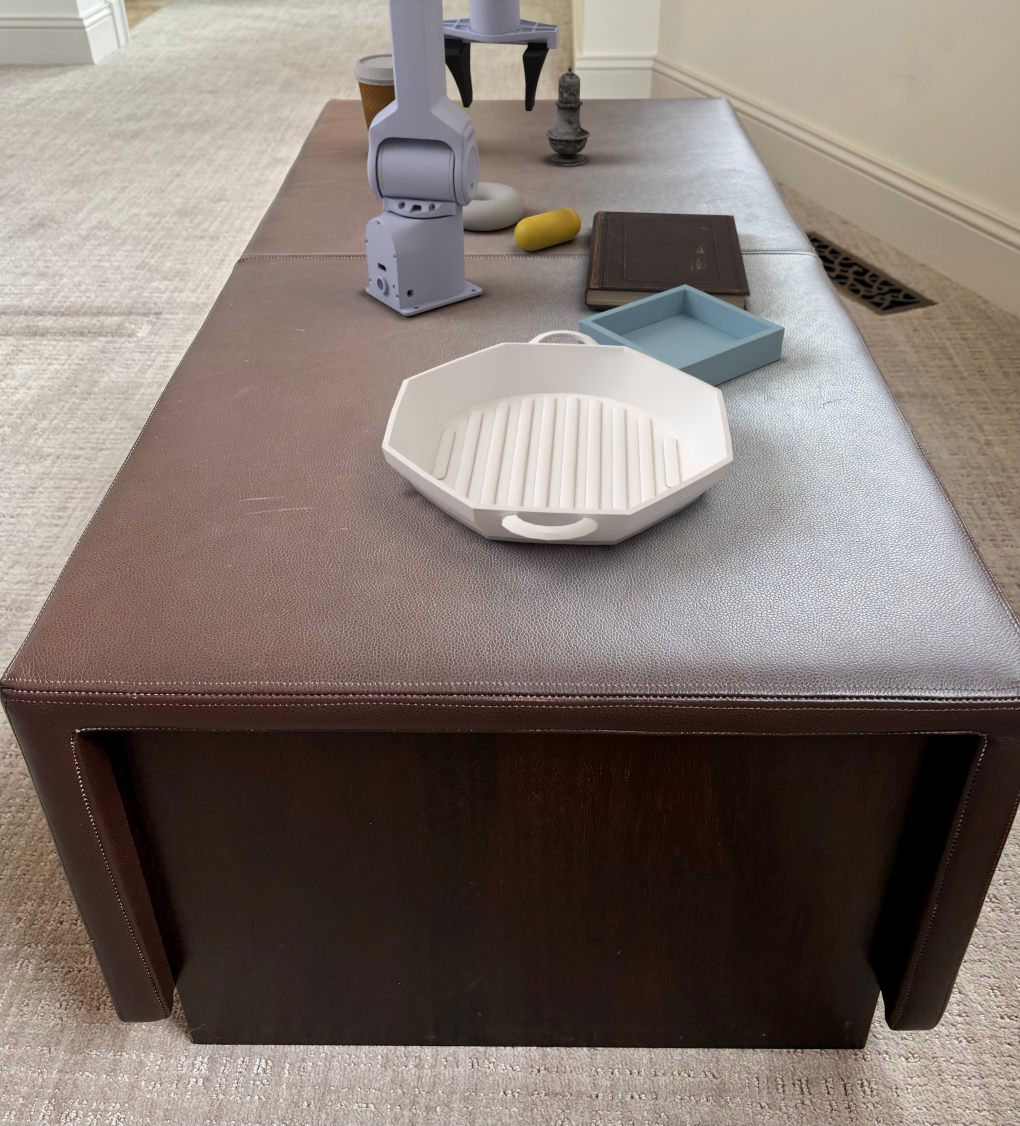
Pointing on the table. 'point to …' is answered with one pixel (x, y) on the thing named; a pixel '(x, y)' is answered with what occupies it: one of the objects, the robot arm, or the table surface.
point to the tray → (690, 333)
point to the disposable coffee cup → (375, 84)
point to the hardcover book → (663, 257)
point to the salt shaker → (568, 124)
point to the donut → (493, 207)
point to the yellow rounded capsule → (547, 229)
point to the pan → (559, 440)
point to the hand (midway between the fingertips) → (498, 106)
